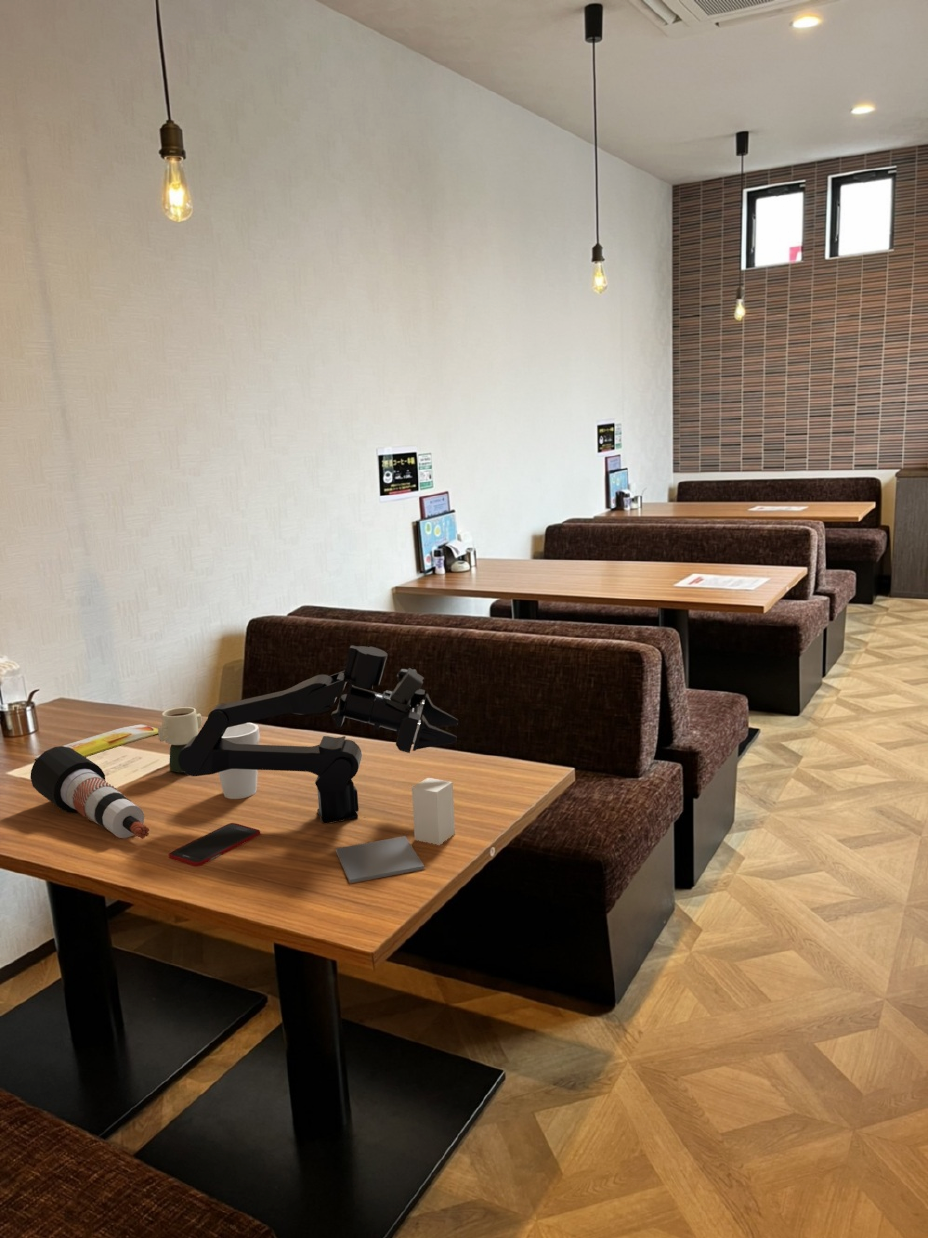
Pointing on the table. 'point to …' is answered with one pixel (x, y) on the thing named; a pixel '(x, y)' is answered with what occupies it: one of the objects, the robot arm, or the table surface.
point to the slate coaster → (378, 859)
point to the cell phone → (214, 844)
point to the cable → (85, 792)
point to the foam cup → (240, 780)
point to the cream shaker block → (433, 810)
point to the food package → (111, 739)
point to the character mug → (178, 731)
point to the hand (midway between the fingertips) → (457, 731)
